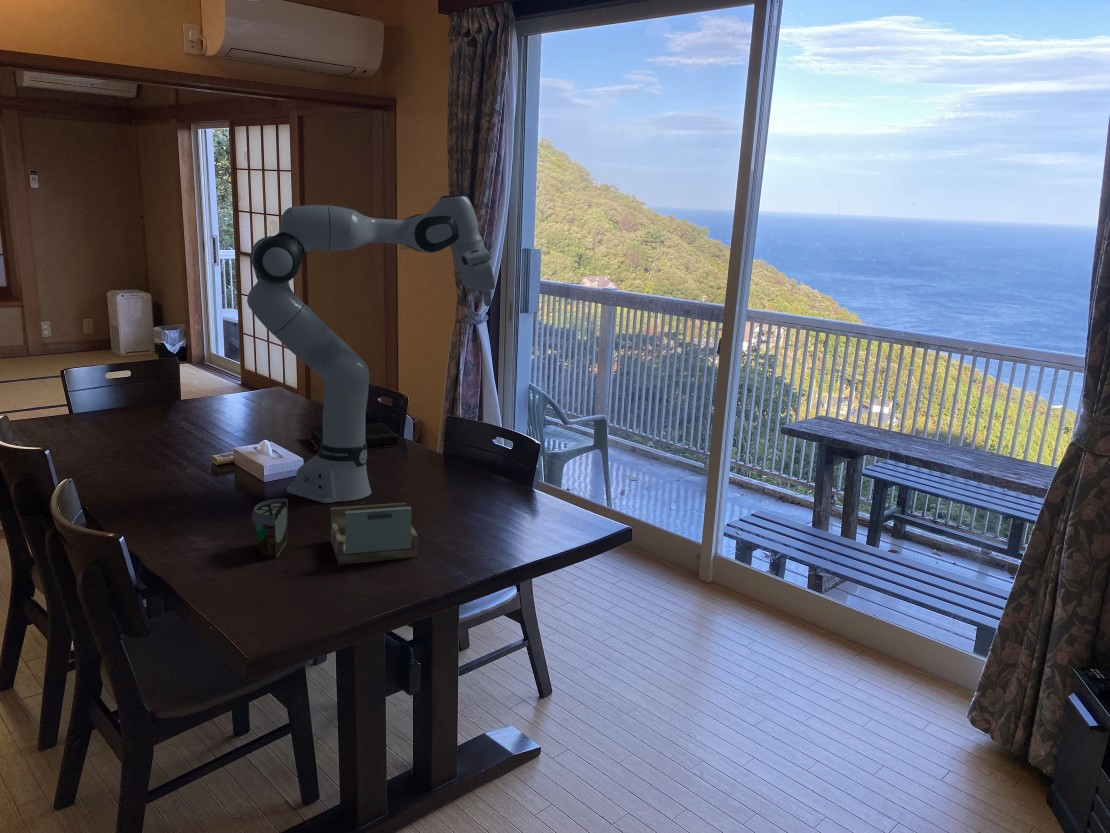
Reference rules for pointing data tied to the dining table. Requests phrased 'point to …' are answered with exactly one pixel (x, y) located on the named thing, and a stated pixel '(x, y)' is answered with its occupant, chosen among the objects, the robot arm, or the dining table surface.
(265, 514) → the food container
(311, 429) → the diary
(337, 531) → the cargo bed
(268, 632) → the dining table surface
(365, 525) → the panel
